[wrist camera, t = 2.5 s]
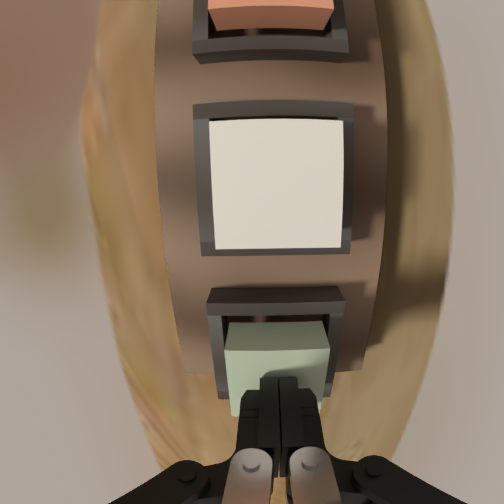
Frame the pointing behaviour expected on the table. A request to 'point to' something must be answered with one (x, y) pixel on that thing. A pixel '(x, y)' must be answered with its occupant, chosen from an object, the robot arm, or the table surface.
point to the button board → (269, 107)
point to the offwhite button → (277, 183)
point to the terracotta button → (270, 14)
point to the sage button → (275, 356)
